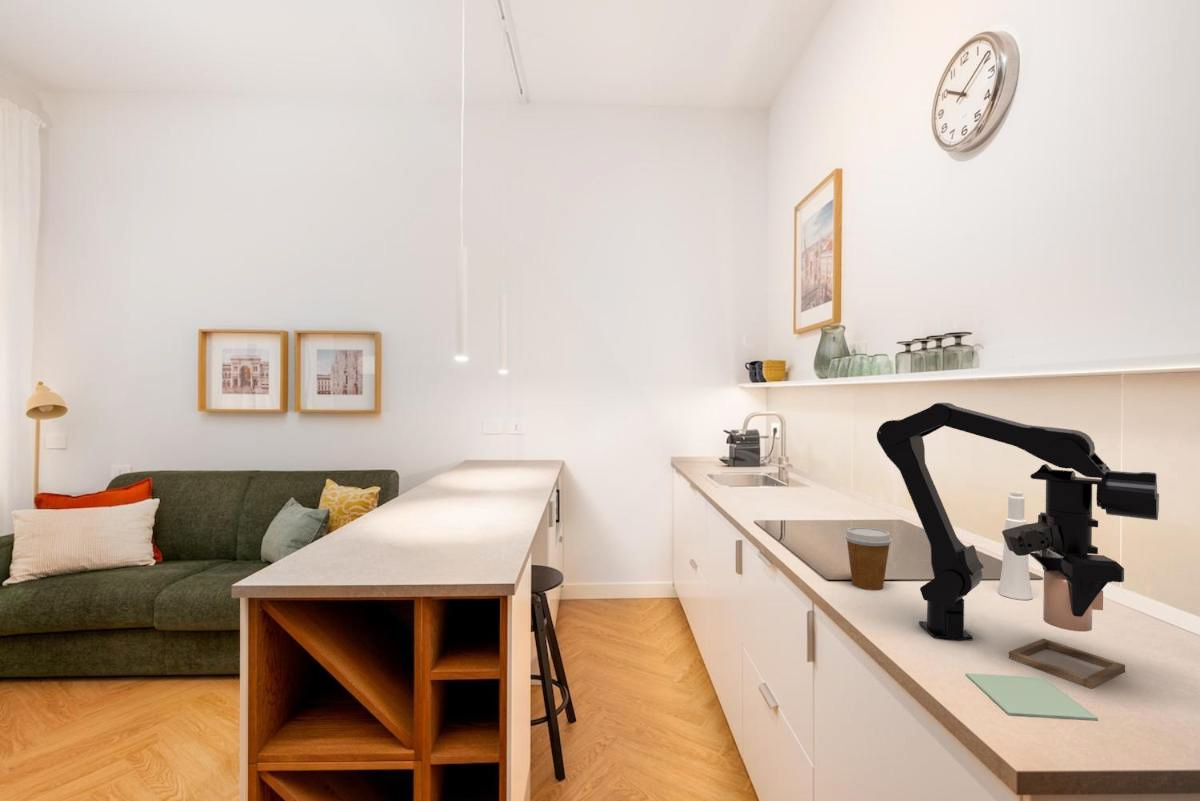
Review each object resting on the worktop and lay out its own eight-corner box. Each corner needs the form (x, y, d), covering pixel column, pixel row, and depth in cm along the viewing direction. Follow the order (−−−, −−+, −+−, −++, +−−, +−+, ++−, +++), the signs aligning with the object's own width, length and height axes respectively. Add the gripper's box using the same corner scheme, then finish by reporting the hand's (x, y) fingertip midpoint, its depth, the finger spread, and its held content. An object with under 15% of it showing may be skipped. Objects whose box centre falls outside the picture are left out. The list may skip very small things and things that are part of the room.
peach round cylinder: (1053, 628, 90) (1054, 580, 90) (1036, 614, 96) (1037, 569, 96) (1111, 634, 88) (1112, 585, 88) (1090, 619, 94) (1091, 573, 94)
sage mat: (965, 675, 89) (965, 673, 89) (1043, 679, 87) (1043, 677, 87) (1008, 715, 78) (1008, 712, 78) (1098, 720, 76) (1098, 718, 76)
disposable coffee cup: (877, 578, 135) (878, 526, 135) (900, 592, 125) (900, 536, 125) (836, 578, 135) (837, 526, 134) (856, 592, 125) (857, 537, 125)
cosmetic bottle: (991, 592, 125) (992, 490, 125) (1009, 588, 128) (1010, 488, 127) (1021, 601, 120) (1022, 495, 119) (1039, 597, 122) (1040, 493, 122)
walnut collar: (1008, 658, 94) (1008, 652, 94) (1043, 644, 100) (1043, 638, 100) (1091, 688, 85) (1091, 681, 85) (1125, 671, 90) (1125, 664, 90)
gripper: (988, 497, 103) (987, 585, 103) (1034, 519, 85) (1033, 625, 85) (1062, 500, 100) (1061, 591, 100) (1127, 524, 82) (1125, 634, 82)
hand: (1067, 608), depth 92 cm, fingers closed on peach round cylinder, 6 cm apart
